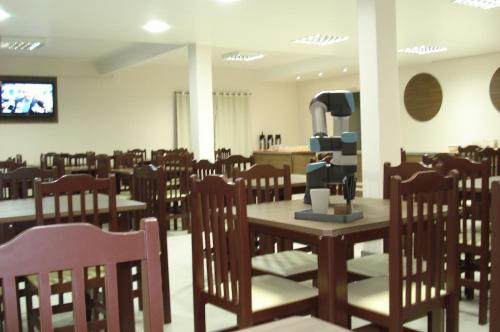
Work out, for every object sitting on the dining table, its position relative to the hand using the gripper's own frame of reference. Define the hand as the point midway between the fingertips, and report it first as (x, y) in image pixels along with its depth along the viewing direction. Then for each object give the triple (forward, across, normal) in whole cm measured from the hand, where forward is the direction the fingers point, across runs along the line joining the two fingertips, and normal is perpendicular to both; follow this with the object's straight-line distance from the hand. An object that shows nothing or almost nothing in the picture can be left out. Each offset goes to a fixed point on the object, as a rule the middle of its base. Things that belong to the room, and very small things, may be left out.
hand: (349, 213), depth 260 cm
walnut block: (+1, +8, 0) cm, 8 cm away
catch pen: (+1, +10, -6) cm, 11 cm away
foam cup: (+1, +10, -11) cm, 15 cm away
